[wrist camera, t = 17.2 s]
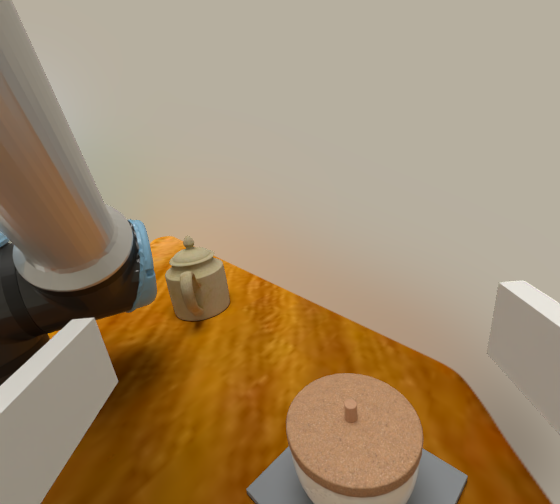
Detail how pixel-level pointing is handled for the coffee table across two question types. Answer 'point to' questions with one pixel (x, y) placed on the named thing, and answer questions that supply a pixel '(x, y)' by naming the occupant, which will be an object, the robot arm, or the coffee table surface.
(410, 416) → the lidded jar
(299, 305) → the coffee table surface
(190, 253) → the beige teapot
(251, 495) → the slate mat
